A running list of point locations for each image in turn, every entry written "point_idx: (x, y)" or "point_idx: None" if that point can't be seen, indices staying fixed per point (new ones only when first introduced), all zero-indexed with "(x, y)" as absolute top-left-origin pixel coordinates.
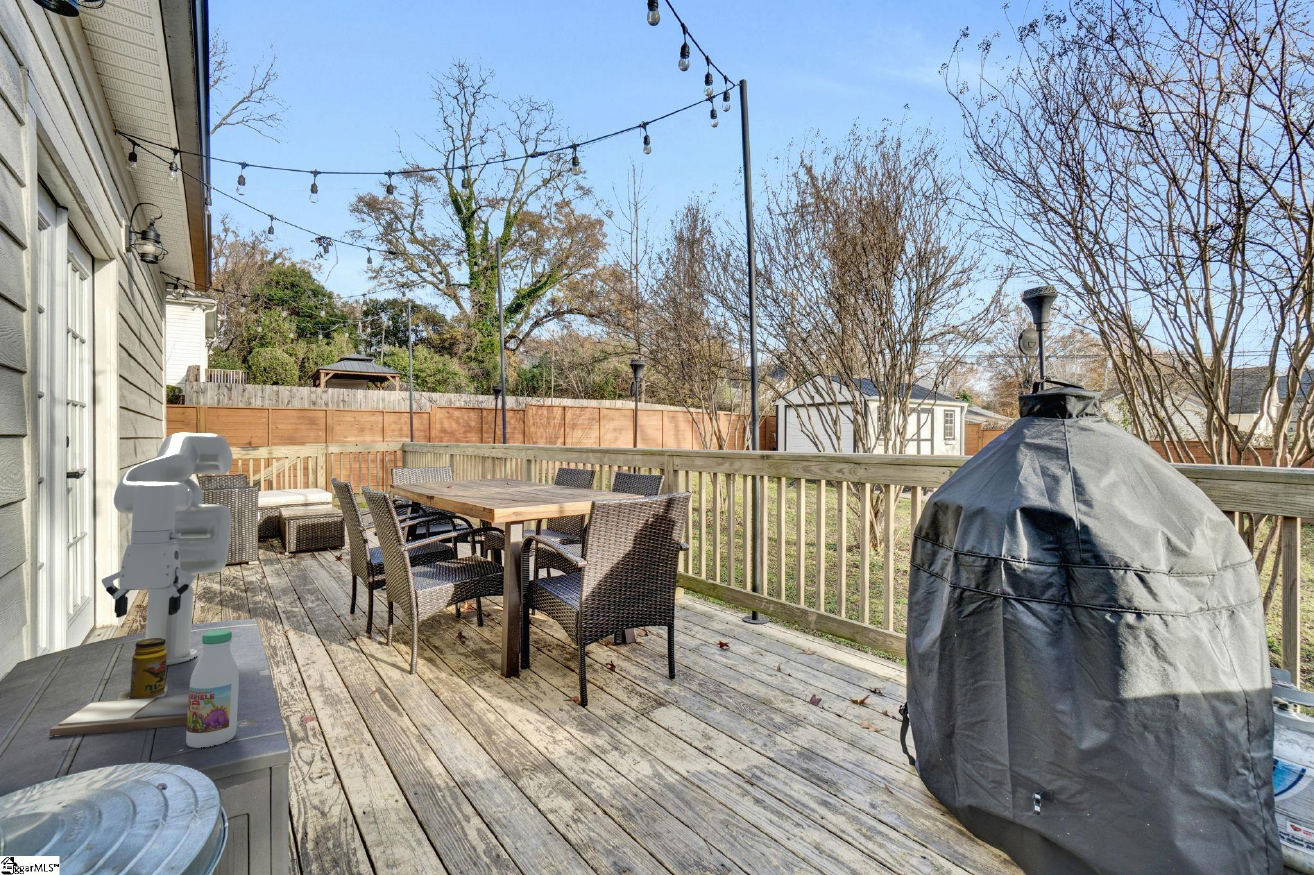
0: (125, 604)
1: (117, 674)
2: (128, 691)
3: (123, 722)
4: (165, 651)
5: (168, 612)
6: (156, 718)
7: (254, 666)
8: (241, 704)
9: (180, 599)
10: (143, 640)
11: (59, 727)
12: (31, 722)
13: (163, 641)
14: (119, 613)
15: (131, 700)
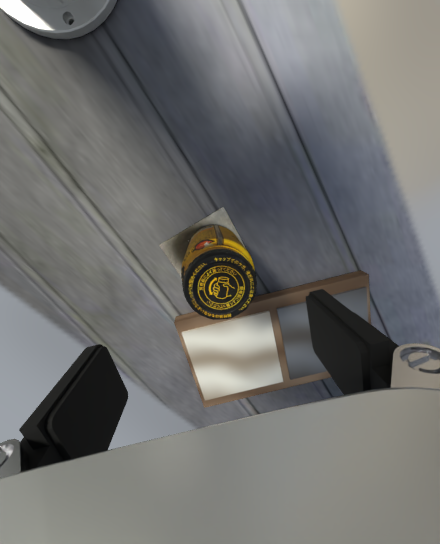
0: (87, 404)
1: (36, 110)
2: (169, 239)
3: (283, 388)
4: (250, 261)
5: (318, 357)
6: (318, 375)
7: (338, 40)
8: (395, 293)
9: (390, 344)
10: (193, 283)
11: (212, 403)
12: (133, 361)
13: (256, 282)
14: (120, 411)
15: (238, 322)
